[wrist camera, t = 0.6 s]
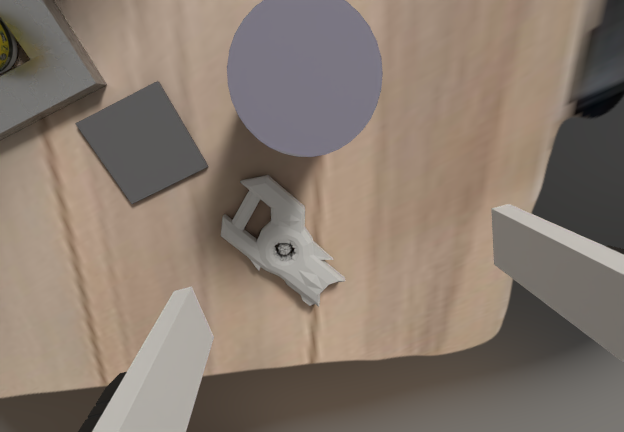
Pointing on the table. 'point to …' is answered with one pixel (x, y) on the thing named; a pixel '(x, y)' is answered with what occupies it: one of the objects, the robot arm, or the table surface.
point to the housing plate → (42, 65)
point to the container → (304, 74)
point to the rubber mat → (143, 143)
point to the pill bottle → (7, 47)
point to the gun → (281, 240)
